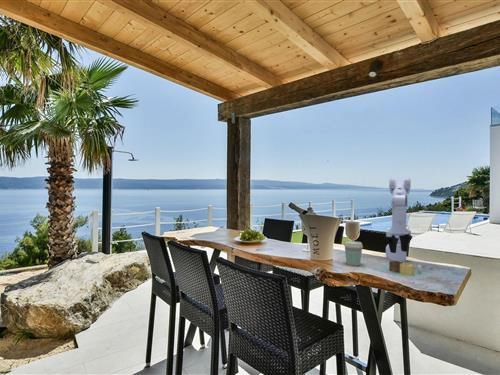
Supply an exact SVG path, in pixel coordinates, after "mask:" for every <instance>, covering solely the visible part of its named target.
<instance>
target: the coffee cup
mask: <svg viewBox="0 0 500 375" xmlns="http://www.w3.org/2000/svg"><path fill="white" fill-rule="evenodd" d="M343 246H344V251H345V263H346V265H348V266H351V267H359V266H360V265H361V260H362V253H363V248H364V245H363V243H362V242H361V241H357V240H355V241H354V240H348V241H345V243H344V245H343Z"/></svg>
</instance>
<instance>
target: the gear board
mask: <svg viewBox="0 0 500 375" xmlns="http://www.w3.org/2000/svg"><path fill="white" fill-rule="evenodd" d="M368 268H370V269H373V270H376V271H379V272H382V273H386V274H391V275H394V276H398V277H400V278H404V279H409V280H411V281H415V280H416V281H417V280H420V279H421V280H422V279H425V278H430V277H436V276H437V274H432V273H429V272H426V271H422V265H420V264H417V269H414V275H411V276H409V275H402V274H401V273H400V272H392V271H389V263H386V264H380V265H379V264H378V265H374V266H373V265H372V266H368Z"/></svg>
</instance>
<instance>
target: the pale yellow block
mask: <svg viewBox="0 0 500 375" xmlns="http://www.w3.org/2000/svg"><path fill="white" fill-rule="evenodd" d="M414 270H415V265H413V264H412V263H405V262H403V264H400V273H401V274H402V275H409V276H411V275H414Z"/></svg>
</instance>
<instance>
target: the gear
mask: <svg viewBox="0 0 500 375" xmlns="http://www.w3.org/2000/svg"><path fill="white" fill-rule="evenodd" d="M403 263H404V261H395V260H389V263H388V264H389V271H392V272H400V264H403Z"/></svg>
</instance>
